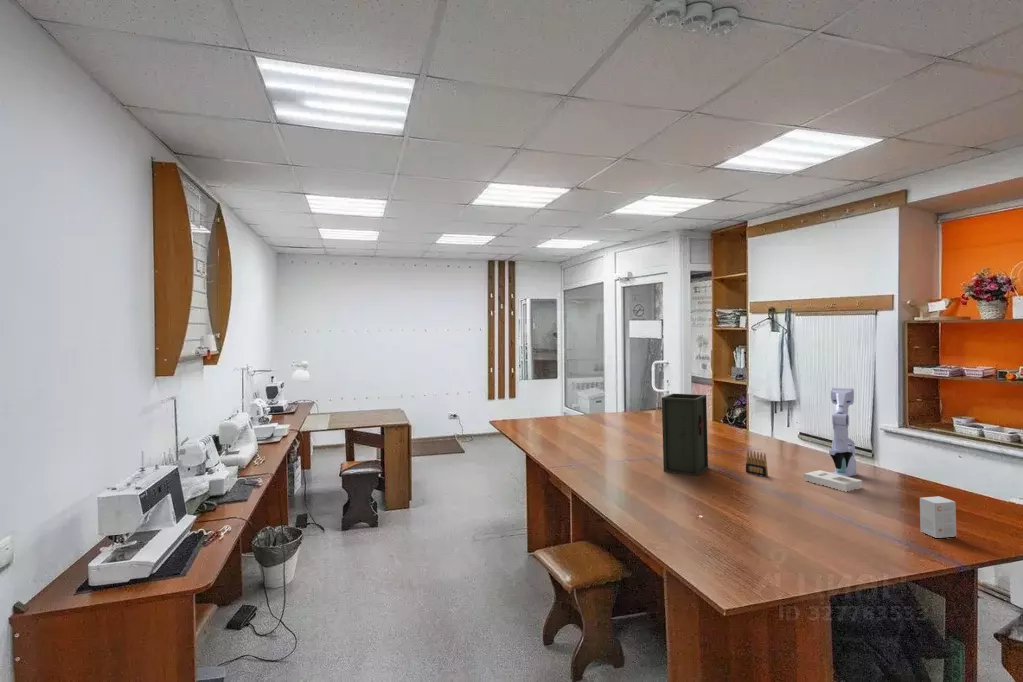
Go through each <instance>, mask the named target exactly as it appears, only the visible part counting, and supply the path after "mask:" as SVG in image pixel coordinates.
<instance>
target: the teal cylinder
mask: <svg viewBox="0 0 1023 682" xmlns="http://www.w3.org/2000/svg"><path fill="white" fill-rule="evenodd" d="M836 472H838V473H846V458H845V457H843V460H842V467H841V469H837V468H836Z"/></svg>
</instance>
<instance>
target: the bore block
mask: <svg viewBox="0 0 1023 682" xmlns="http://www.w3.org/2000/svg"><path fill="white" fill-rule="evenodd" d="M804 480H805V481H804ZM803 481H804V482H807V481H809V482H808V483H811V482H812V483H811V484H814V483H816V484H815V485H818V484H820V485H819V486H822V485H824V486H823V487H825V486H828V487H827V488H829V487H831V488H830V489H833V488H835V489H834V490H836V489H838V490H837V491H840V490H841V492H844V491H845V493H848V492H852V491H855V490H854V489H856V490H859V489H863V480H862V479H858V478H854V477H851V476H849V477H846V476H842V475H838V474H834V473H831V472H829V471H825V470H821V469H820V470H814V471H810V472H804V474H803ZM851 490H852V491H851ZM847 491H848V492H847Z"/></svg>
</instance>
